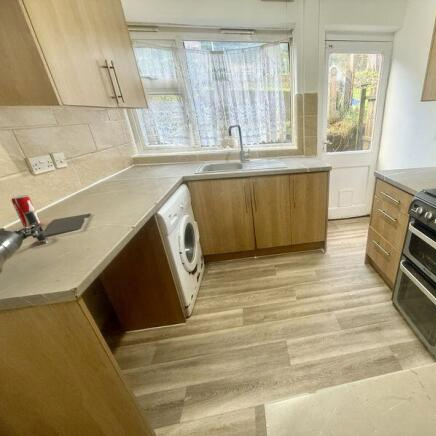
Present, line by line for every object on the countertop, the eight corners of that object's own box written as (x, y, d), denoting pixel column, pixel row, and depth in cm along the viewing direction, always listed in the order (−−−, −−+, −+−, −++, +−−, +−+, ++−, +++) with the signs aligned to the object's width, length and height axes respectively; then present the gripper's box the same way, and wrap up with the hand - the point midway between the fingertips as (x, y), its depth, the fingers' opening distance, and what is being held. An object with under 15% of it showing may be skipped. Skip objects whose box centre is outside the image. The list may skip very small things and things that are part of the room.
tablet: (39, 239, 103) (38, 237, 102) (54, 221, 120) (53, 219, 120) (83, 230, 109) (83, 228, 109) (91, 214, 127) (90, 213, 127)
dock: (29, 248, 96) (28, 247, 95) (35, 241, 101) (34, 240, 101) (52, 244, 99) (51, 243, 98) (57, 237, 104) (56, 236, 104)
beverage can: (22, 228, 114) (4, 198, 107) (39, 222, 119) (23, 193, 113) (29, 230, 111) (11, 199, 105) (46, 224, 117) (30, 194, 110)
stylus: (38, 243, 98) (23, 214, 93) (40, 241, 100) (25, 212, 95) (46, 242, 99) (31, 212, 94) (47, 239, 101) (33, 210, 96)
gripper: (25, 230, 75) (42, 213, 88) (-43, 242, 69) (-14, 222, 82) (36, 251, 78) (50, 232, 91) (-29, 264, 72) (-3, 242, 85)
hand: (20, 227), depth 87 cm, fingers open, 8 cm apart
